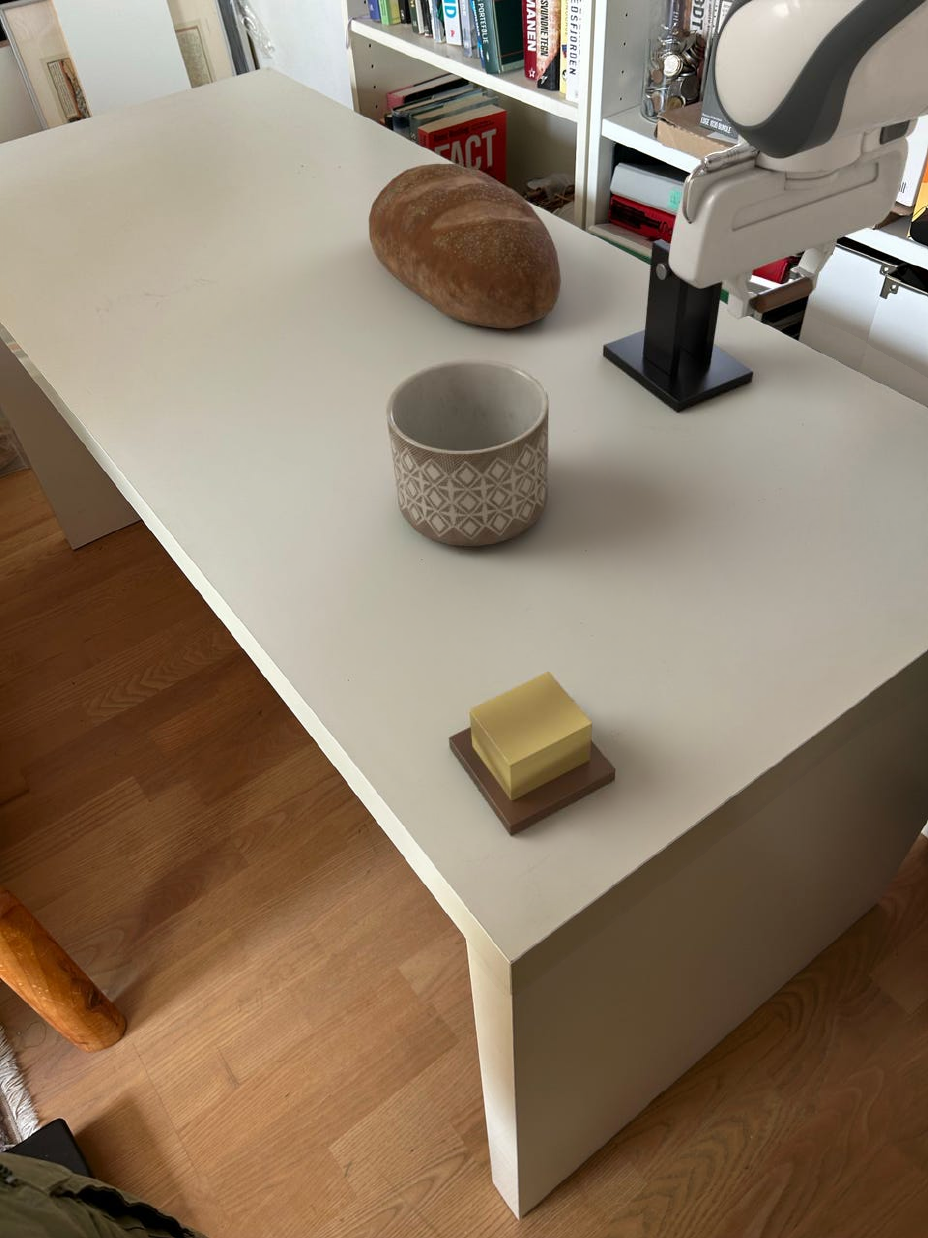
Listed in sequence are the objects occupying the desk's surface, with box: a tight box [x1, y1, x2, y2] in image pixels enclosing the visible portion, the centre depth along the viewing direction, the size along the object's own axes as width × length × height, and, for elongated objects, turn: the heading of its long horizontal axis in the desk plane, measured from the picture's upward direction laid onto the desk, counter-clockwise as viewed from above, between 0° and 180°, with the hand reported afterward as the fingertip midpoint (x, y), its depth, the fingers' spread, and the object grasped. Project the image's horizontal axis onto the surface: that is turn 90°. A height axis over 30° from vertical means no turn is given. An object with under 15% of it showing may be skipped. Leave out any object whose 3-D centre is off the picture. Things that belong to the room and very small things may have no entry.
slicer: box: [602, 238, 755, 413], centre depth 90 cm, size 12×9×13 cm
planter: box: [385, 358, 550, 547], centre depth 79 cm, size 13×13×10 cm
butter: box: [448, 671, 617, 837], centre depth 62 cm, size 8×8×5 cm
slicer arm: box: [721, 274, 814, 314], centre depth 83 cm, size 14×5×2 cm, turn 30°
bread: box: [368, 163, 562, 330], centre depth 106 cm, size 16×29×11 cm, turn 32°
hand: (770, 302), depth 80 cm, fingers open, 5 cm apart
